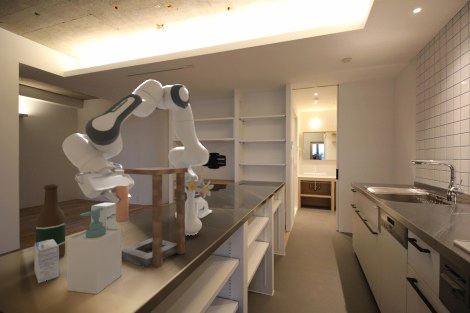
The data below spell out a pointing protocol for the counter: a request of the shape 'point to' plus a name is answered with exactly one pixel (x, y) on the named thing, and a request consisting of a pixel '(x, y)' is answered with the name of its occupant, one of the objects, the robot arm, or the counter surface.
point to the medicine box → (46, 260)
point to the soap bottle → (94, 257)
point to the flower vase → (191, 219)
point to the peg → (122, 203)
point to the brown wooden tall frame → (159, 221)
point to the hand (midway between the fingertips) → (123, 200)
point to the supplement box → (107, 215)
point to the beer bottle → (51, 220)
